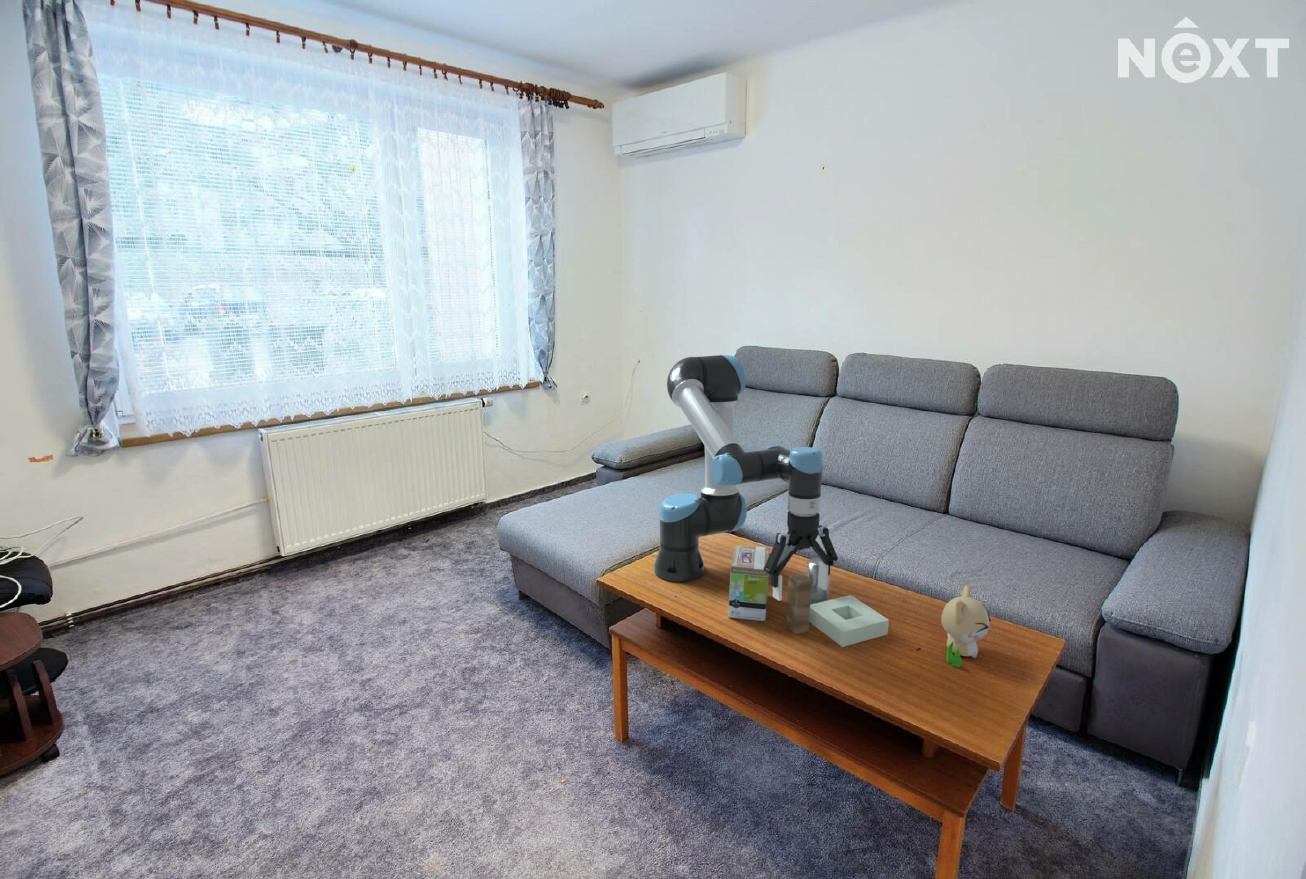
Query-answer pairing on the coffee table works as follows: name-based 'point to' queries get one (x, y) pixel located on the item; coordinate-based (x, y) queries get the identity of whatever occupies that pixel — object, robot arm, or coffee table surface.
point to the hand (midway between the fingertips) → (800, 593)
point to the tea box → (748, 583)
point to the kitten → (964, 626)
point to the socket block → (859, 622)
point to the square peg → (798, 603)
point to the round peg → (816, 582)
